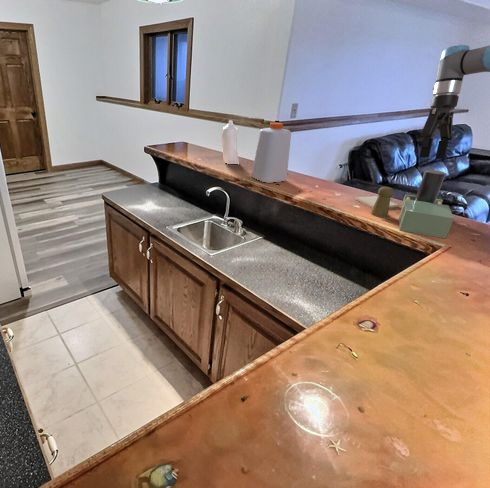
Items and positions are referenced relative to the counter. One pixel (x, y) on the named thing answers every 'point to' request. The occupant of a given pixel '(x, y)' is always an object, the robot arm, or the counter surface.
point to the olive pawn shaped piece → (382, 202)
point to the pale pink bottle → (230, 143)
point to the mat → (373, 201)
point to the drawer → (412, 197)
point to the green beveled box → (425, 218)
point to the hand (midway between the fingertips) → (432, 158)
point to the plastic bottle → (272, 154)
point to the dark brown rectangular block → (430, 186)
